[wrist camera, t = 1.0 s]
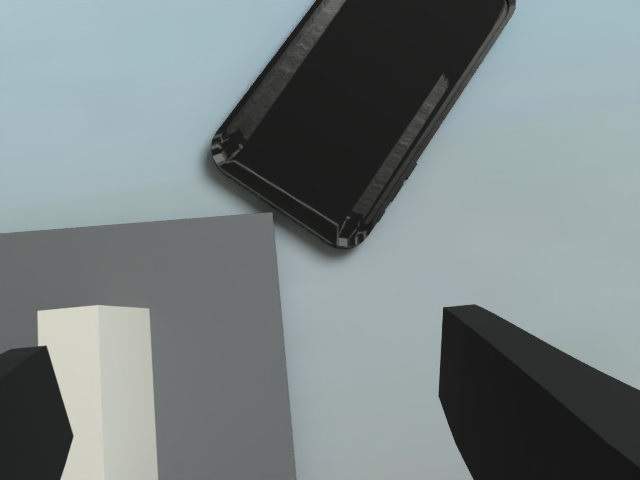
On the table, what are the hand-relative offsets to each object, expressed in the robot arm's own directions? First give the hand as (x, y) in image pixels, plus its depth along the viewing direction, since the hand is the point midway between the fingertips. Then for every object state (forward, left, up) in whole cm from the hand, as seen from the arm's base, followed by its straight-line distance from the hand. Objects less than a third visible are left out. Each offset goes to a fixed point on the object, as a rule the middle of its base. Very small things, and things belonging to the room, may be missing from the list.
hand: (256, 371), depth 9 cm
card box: (-3, +5, -11) cm, 12 cm away
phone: (+11, -6, -12) cm, 18 cm away
